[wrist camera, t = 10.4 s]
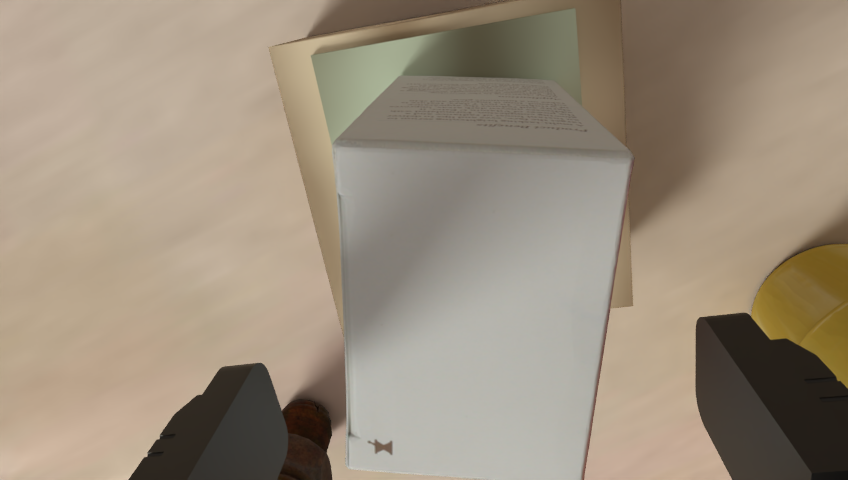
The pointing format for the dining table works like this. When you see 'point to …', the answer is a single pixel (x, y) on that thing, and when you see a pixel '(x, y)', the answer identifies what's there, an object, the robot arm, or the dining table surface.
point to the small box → (476, 276)
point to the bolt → (306, 442)
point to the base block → (447, 56)
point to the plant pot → (809, 305)
